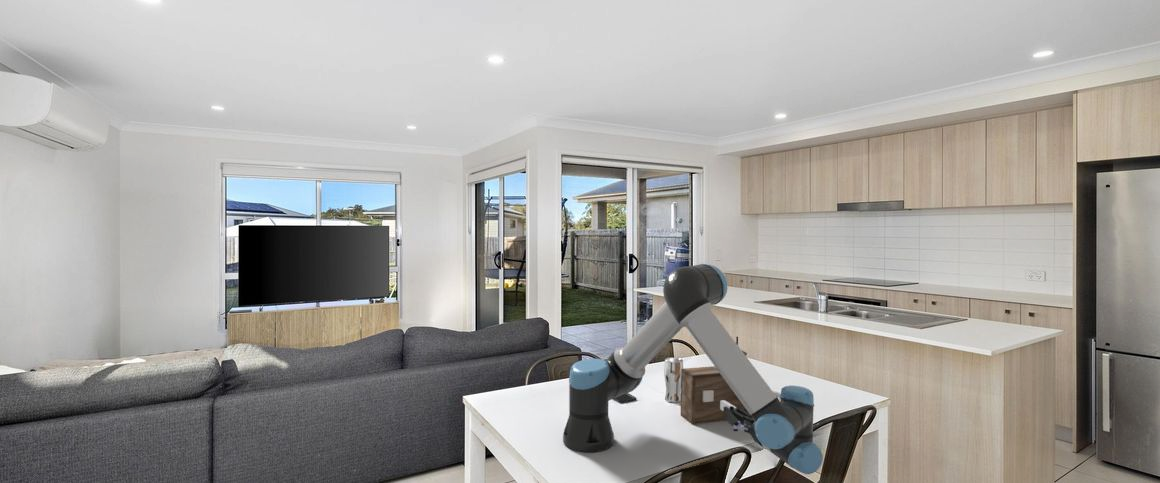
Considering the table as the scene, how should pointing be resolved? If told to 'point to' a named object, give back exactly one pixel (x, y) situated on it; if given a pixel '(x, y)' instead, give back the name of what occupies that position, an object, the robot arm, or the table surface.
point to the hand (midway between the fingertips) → (722, 404)
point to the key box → (692, 395)
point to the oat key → (707, 395)
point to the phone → (625, 398)
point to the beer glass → (673, 379)
